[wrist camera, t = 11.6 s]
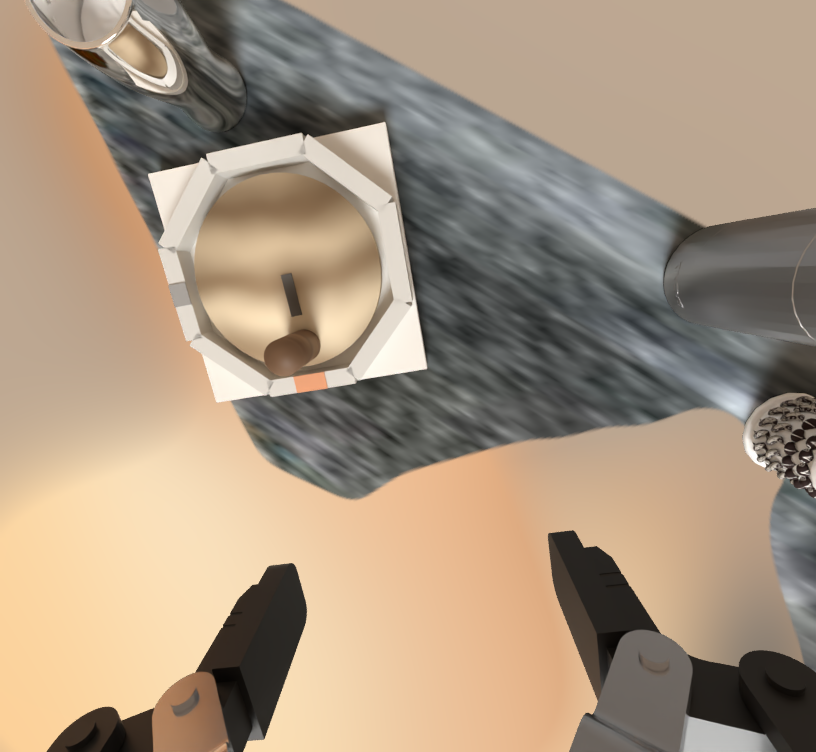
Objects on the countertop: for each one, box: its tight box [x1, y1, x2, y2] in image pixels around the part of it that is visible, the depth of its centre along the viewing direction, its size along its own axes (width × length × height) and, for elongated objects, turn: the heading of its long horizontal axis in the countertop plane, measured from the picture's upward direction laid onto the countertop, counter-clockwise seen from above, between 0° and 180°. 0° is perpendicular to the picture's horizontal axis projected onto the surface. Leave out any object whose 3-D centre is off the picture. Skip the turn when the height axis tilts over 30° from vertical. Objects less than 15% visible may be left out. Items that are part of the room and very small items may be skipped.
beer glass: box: [24, 0, 247, 132], centre depth 30 cm, size 7×7×15 cm
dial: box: [194, 173, 382, 376], centre depth 34 cm, size 17×17×8 cm
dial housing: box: [148, 122, 427, 402], centre depth 38 cm, size 22×22×4 cm
